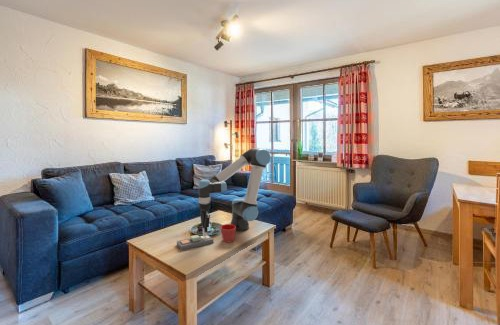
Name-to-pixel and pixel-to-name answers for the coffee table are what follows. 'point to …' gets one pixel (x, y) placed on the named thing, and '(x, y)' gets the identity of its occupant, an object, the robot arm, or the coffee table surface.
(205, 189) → the robot arm
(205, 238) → the key ivory
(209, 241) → the grey rectangular tray
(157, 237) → the coffee table surface
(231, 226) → the flower pot
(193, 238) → the key sage
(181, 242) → the key terracotta
